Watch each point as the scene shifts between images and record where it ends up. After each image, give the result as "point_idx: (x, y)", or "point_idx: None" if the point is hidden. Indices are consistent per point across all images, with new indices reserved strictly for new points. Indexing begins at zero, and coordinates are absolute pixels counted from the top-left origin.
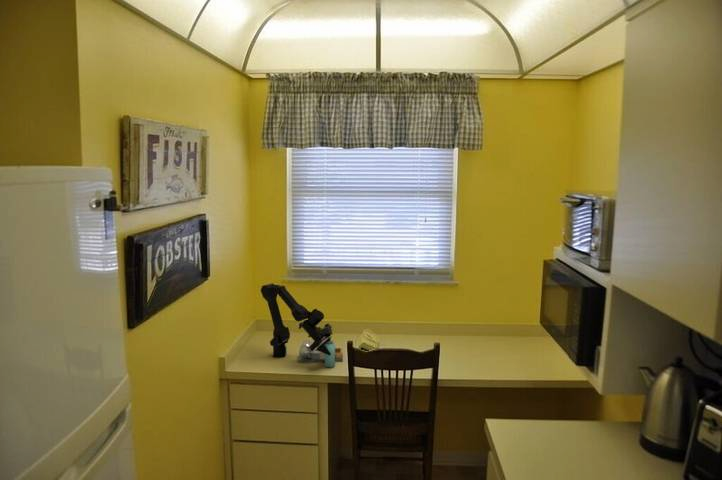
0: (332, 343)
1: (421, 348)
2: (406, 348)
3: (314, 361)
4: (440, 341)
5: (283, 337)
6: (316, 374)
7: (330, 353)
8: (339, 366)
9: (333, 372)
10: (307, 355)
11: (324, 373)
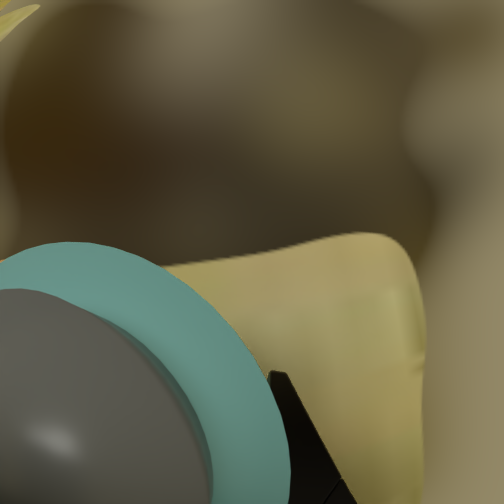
0: (121, 327)
1: (26, 11)
2: (4, 37)
3: None
4: (2, 6)
5: None
6: (419, 454)
7: (283, 379)
8: (195, 288)
9: (360, 320)
10: None
11: (394, 397)
